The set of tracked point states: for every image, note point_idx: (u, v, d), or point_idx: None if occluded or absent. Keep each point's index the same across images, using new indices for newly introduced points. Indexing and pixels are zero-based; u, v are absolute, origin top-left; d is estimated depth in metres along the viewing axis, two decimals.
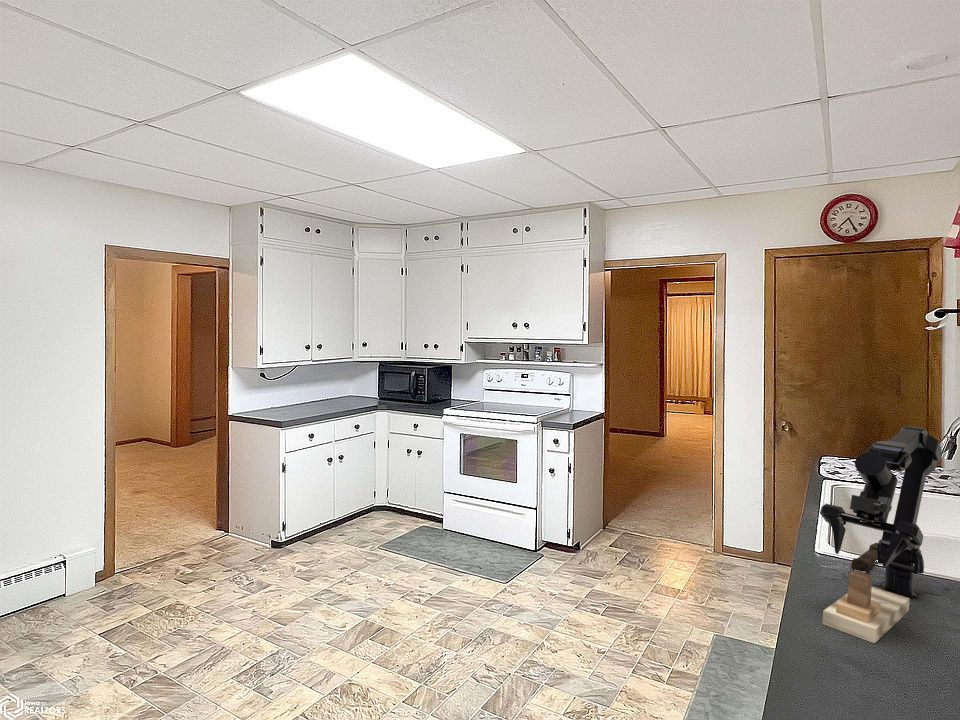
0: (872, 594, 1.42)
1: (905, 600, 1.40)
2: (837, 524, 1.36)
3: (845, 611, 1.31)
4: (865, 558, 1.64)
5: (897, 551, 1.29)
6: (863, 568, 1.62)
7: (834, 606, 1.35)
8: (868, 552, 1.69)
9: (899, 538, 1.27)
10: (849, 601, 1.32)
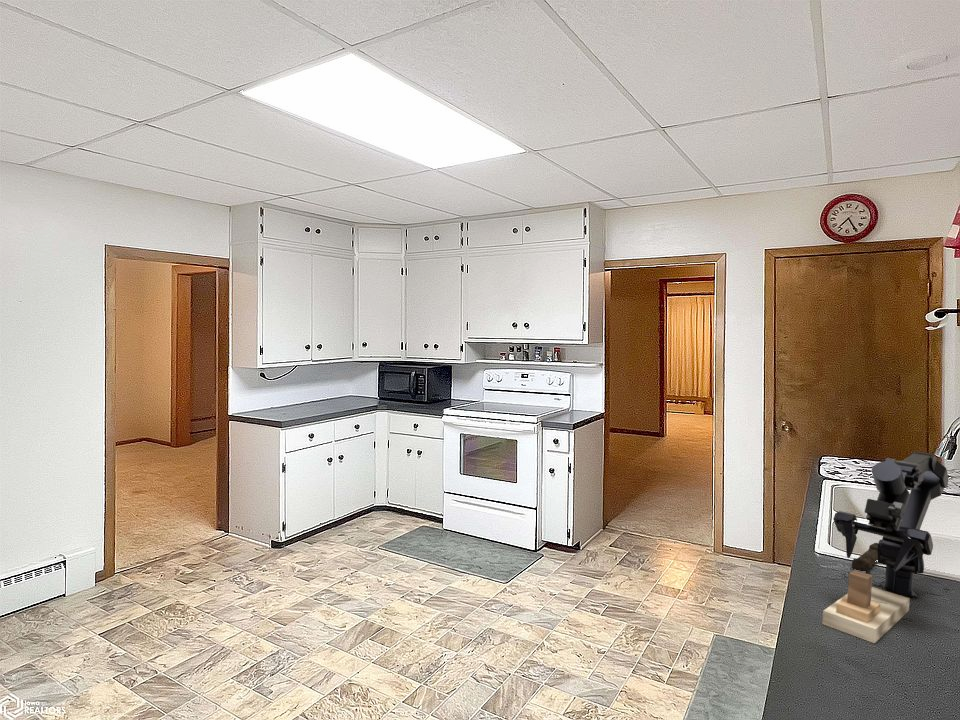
0: (872, 594, 1.42)
1: (905, 600, 1.40)
2: (850, 529, 1.41)
3: (845, 611, 1.31)
4: (865, 558, 1.64)
5: (907, 557, 1.34)
6: (863, 568, 1.62)
7: (834, 606, 1.35)
8: (868, 552, 1.69)
9: (910, 543, 1.32)
10: (849, 601, 1.32)
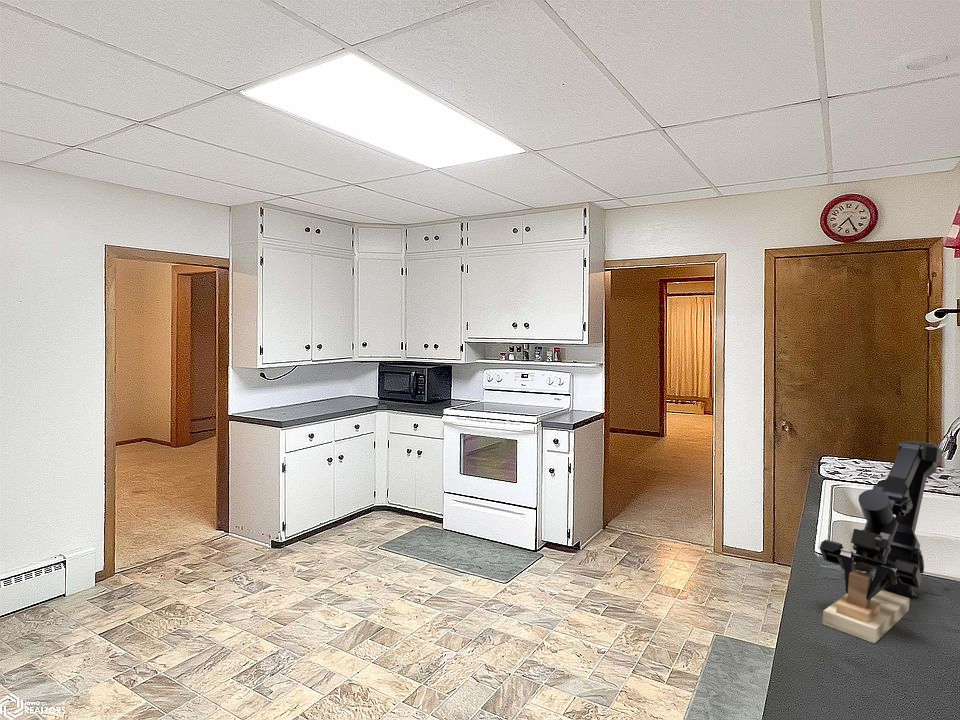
0: None
1: (905, 600, 1.40)
2: (849, 563, 1.35)
3: (845, 611, 1.31)
4: None
5: (881, 586, 1.31)
6: (864, 569, 1.62)
7: (834, 606, 1.35)
8: None
9: (884, 572, 1.30)
10: (849, 601, 1.32)
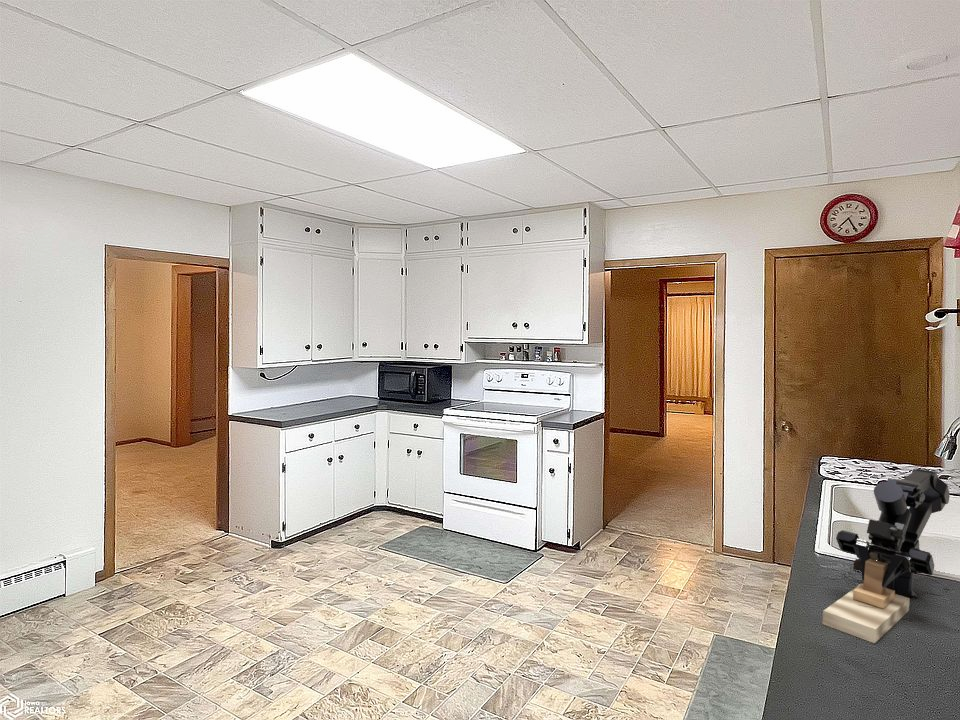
0: None
1: (905, 600, 1.40)
2: (865, 552, 1.42)
3: (861, 597, 1.37)
4: None
5: (895, 573, 1.38)
6: None
7: (834, 606, 1.35)
8: None
9: (898, 560, 1.37)
10: (865, 588, 1.39)
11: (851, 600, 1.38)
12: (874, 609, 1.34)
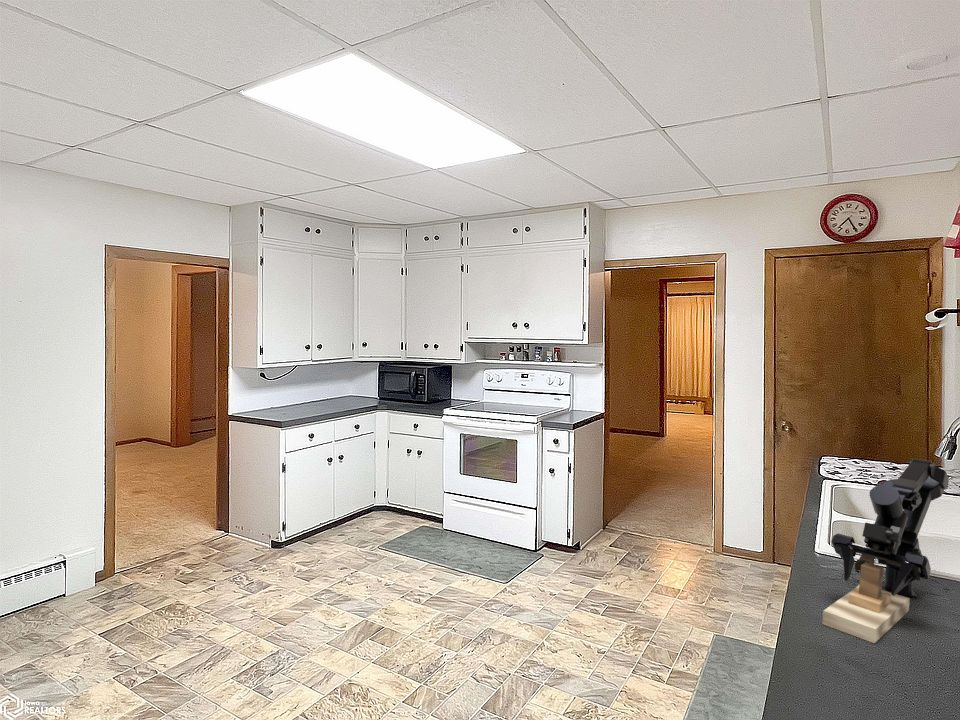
0: None
1: (905, 600, 1.40)
2: (848, 552, 1.42)
3: (857, 602, 1.36)
4: (867, 559, 1.64)
5: (905, 581, 1.34)
6: None
7: (834, 606, 1.35)
8: None
9: (908, 568, 1.33)
10: (861, 592, 1.37)
11: None
12: None
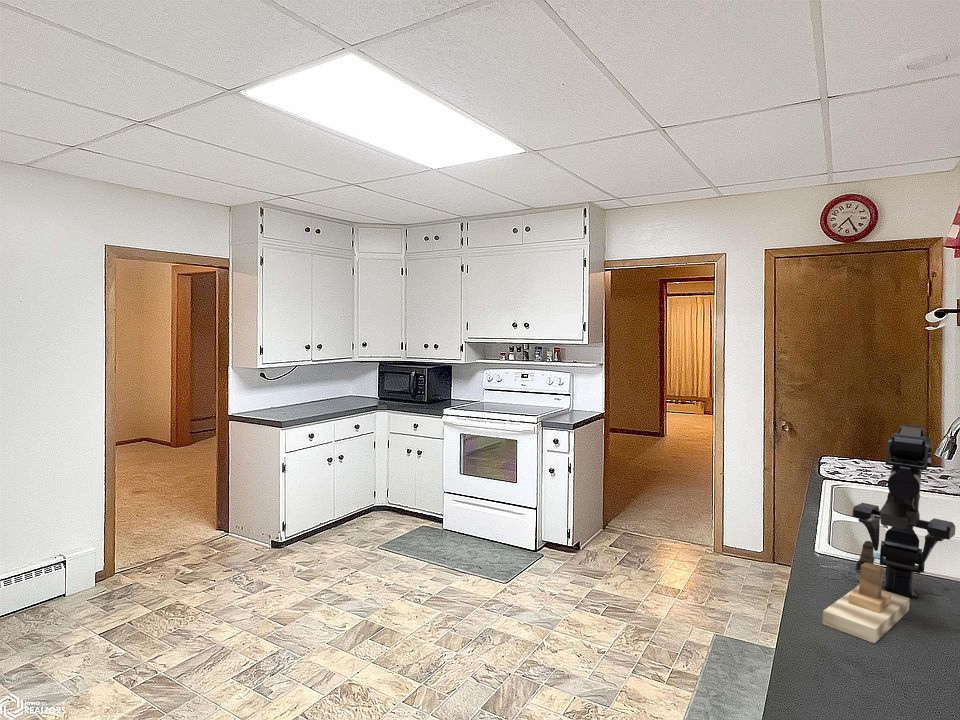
0: None
1: (905, 600, 1.40)
2: (871, 526, 1.42)
3: (857, 602, 1.36)
4: (868, 559, 1.64)
5: (933, 545, 1.35)
6: None
7: (834, 606, 1.35)
8: (865, 552, 1.69)
9: (932, 541, 1.33)
10: (861, 592, 1.37)
11: None
12: None
